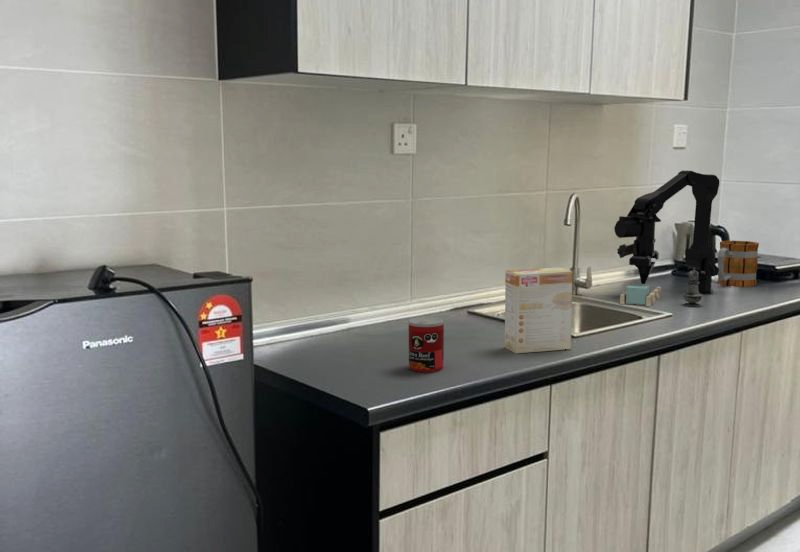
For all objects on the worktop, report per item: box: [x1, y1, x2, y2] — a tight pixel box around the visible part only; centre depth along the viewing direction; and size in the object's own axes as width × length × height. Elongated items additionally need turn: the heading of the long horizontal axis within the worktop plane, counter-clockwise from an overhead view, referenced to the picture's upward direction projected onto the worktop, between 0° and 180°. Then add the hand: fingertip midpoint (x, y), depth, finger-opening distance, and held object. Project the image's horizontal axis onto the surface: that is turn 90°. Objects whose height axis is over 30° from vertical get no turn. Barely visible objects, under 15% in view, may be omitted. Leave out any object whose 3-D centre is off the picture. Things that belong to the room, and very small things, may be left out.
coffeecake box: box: [504, 267, 573, 355], centre depth 192 cm, size 15×7×20 cm, turn 105°
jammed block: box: [625, 283, 651, 305], centre depth 248 cm, size 6×6×5 cm
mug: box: [717, 240, 760, 288], centre depth 280 cm, size 20×14×15 cm
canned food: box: [408, 316, 445, 373], centre depth 176 cm, size 8×8×11 cm
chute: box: [619, 286, 662, 308], centre depth 254 cm, size 20×9×3 cm, turn 153°
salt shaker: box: [682, 268, 704, 308], centre depth 244 cm, size 6×6×12 cm
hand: (643, 283), depth 256 cm, fingers closed
